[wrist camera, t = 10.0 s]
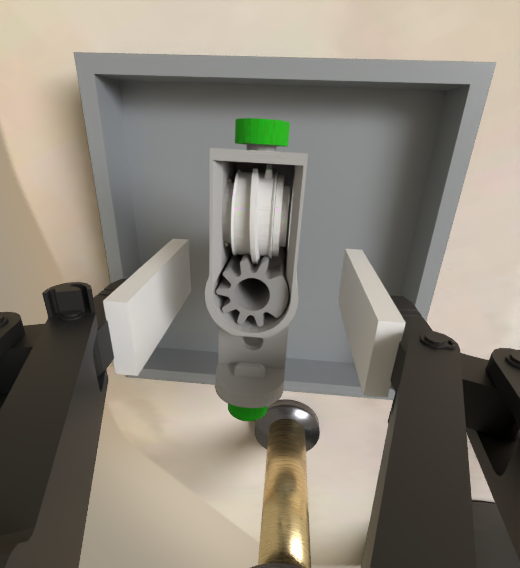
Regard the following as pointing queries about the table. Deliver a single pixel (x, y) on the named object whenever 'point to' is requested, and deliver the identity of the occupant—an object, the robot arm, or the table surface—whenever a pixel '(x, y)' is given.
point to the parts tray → (318, 186)
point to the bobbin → (286, 484)
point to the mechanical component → (254, 262)
